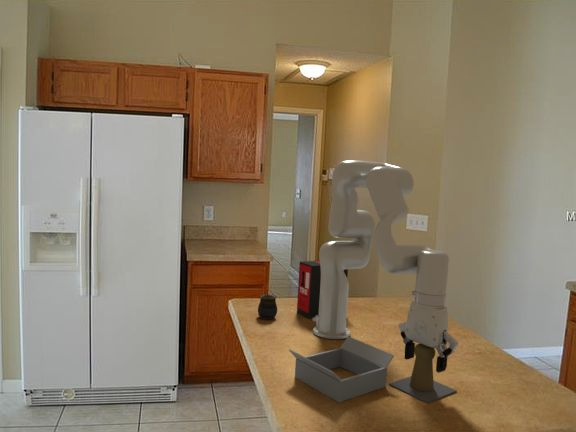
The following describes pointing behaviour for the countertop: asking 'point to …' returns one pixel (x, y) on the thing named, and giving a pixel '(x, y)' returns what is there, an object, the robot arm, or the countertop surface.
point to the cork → (423, 369)
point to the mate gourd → (267, 307)
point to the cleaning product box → (309, 288)
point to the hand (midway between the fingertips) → (424, 364)
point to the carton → (351, 357)
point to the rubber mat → (427, 397)
